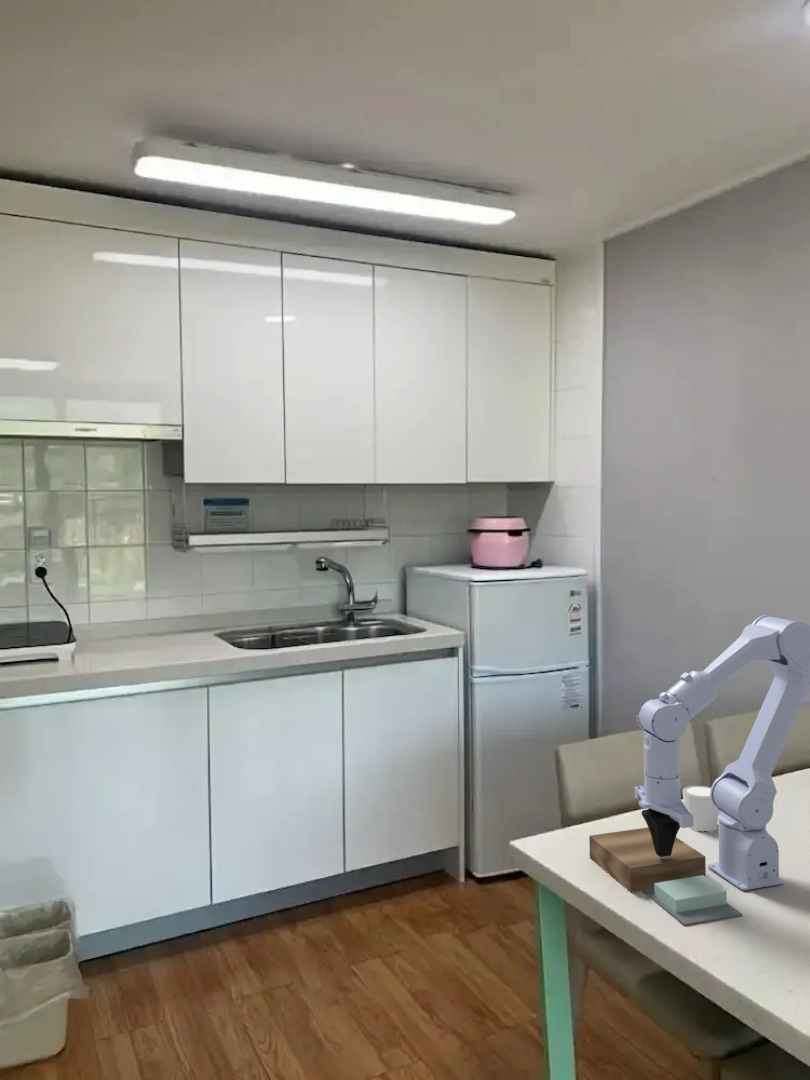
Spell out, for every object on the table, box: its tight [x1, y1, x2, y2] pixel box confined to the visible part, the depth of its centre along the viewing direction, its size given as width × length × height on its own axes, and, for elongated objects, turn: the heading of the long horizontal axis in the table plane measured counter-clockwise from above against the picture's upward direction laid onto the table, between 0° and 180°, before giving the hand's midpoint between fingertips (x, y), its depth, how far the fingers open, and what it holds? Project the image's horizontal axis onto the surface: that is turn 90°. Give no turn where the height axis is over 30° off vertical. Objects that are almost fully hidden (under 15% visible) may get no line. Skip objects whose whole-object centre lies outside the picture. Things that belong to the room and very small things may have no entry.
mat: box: [641, 887, 743, 927], centre depth 131 cm, size 12×10×1 cm
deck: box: [588, 826, 707, 893], centre depth 143 cm, size 14×14×4 cm
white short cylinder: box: [682, 785, 719, 833], centre depth 161 cm, size 7×7×7 cm
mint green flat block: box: [654, 875, 728, 913], centre depth 131 cm, size 6×9×2 cm, turn 105°
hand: (663, 854), depth 138 cm, fingers closed
